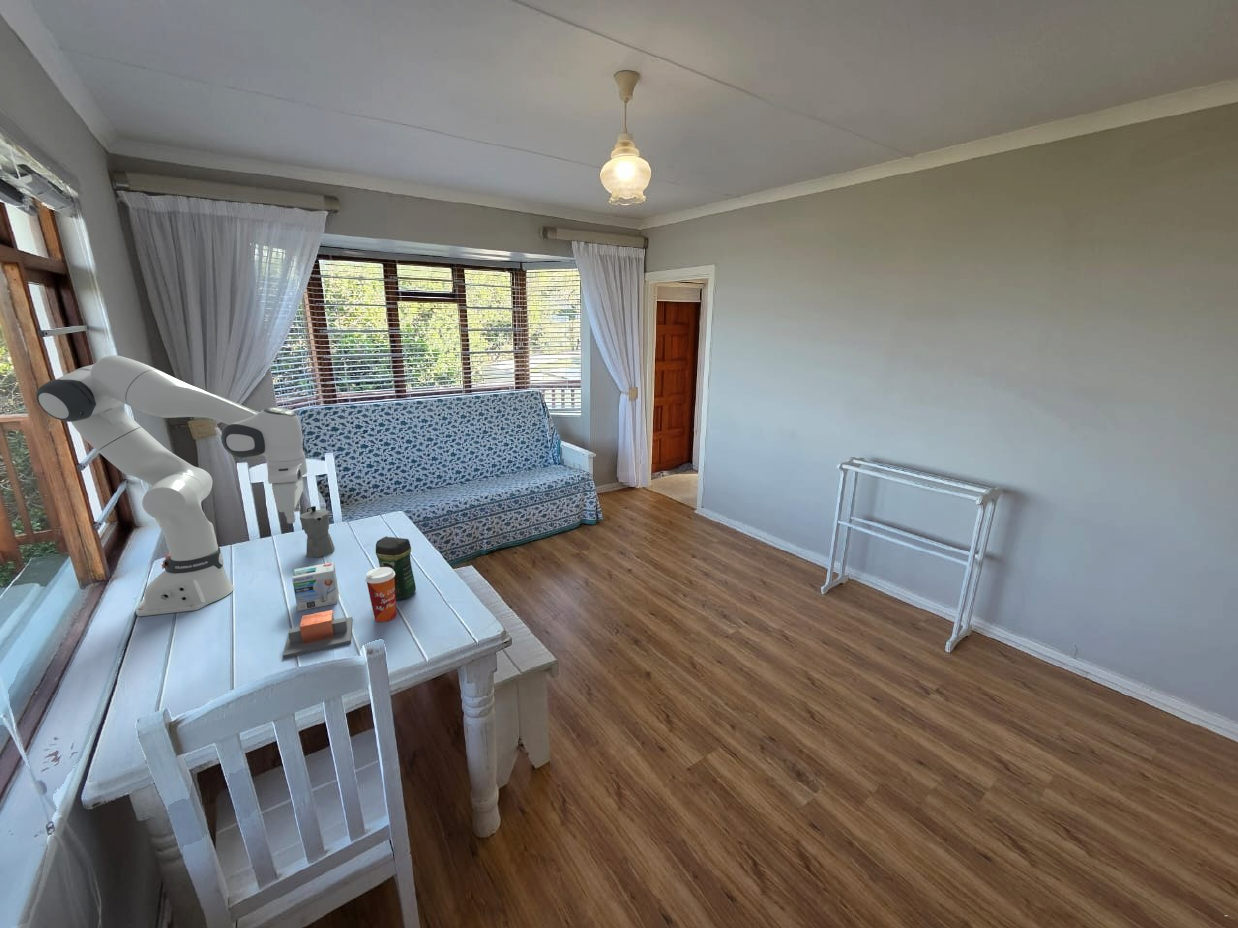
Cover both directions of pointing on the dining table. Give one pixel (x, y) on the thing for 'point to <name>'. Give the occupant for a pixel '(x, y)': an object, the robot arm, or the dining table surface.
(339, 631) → the stand
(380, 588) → the paper cup
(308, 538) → the coffeepot
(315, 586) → the light bulb box
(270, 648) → the dining table surface
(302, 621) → the block
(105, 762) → the dining table surface
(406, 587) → the coffee jar
